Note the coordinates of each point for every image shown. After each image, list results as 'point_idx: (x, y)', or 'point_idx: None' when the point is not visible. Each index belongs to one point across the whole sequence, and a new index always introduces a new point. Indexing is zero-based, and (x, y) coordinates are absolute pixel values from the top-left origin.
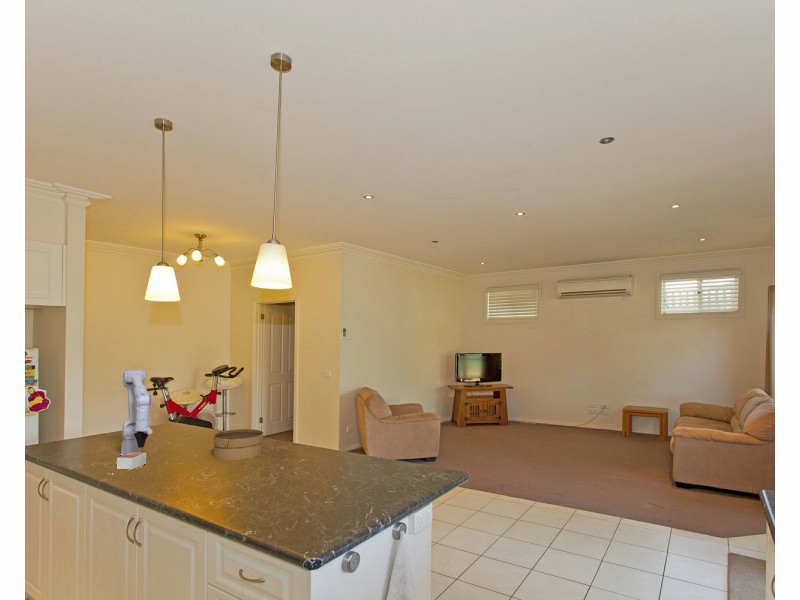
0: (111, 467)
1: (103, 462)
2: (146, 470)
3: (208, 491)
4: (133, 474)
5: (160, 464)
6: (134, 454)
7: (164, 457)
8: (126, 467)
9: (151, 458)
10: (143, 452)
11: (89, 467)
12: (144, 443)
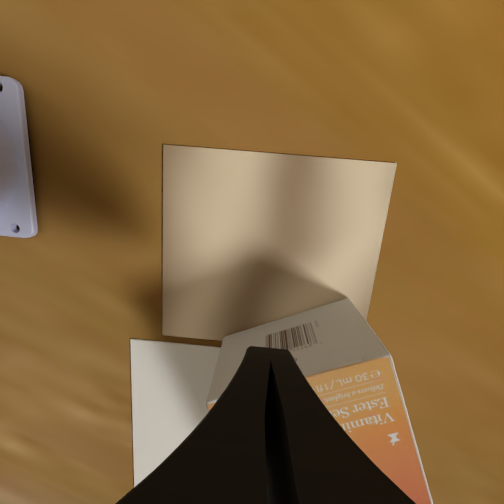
0: None
1: (19, 395)
2: (500, 403)
3: None
4: (488, 487)
5: (476, 250)
6: None
7: (304, 51)
8: None
9: (220, 147)
10: (352, 367)
11: (78, 493)
12: (305, 382)
